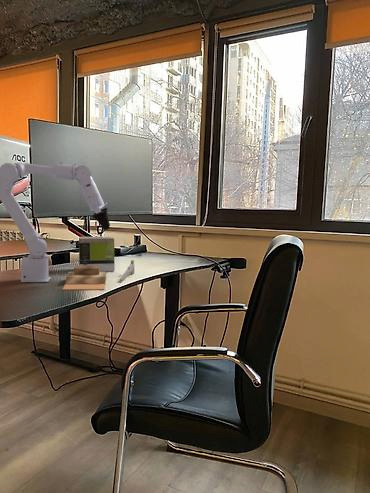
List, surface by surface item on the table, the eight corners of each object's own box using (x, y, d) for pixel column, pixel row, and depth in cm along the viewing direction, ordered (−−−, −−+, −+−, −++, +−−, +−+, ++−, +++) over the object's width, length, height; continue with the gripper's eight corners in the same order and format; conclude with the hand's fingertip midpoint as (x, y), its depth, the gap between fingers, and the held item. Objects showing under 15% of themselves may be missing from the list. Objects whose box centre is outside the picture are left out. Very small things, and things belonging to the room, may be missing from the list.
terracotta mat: (62, 290, 134) (62, 289, 134) (65, 284, 142) (65, 283, 142) (104, 289, 136) (104, 288, 136) (105, 284, 144) (105, 283, 144)
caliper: (131, 274, 169) (132, 259, 168) (134, 274, 169) (134, 259, 168) (118, 283, 149) (118, 267, 148) (121, 283, 149) (121, 267, 148)
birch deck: (65, 284, 142) (65, 276, 142) (69, 279, 152) (69, 271, 152) (105, 284, 145) (105, 276, 144) (106, 279, 155) (106, 271, 154)
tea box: (113, 268, 181) (113, 236, 179) (114, 272, 171) (114, 238, 170) (79, 268, 177) (79, 235, 176) (78, 272, 168) (78, 237, 166)
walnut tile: (73, 275, 145) (73, 268, 145) (75, 272, 151) (75, 265, 151) (98, 275, 147) (98, 268, 147) (99, 272, 153) (99, 265, 153)
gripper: (101, 192, 145) (116, 226, 148) (102, 191, 159) (116, 221, 162) (83, 200, 144) (99, 233, 147) (86, 197, 158) (100, 228, 161)
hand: (107, 228), depth 154 cm, fingers open, 7 cm apart
